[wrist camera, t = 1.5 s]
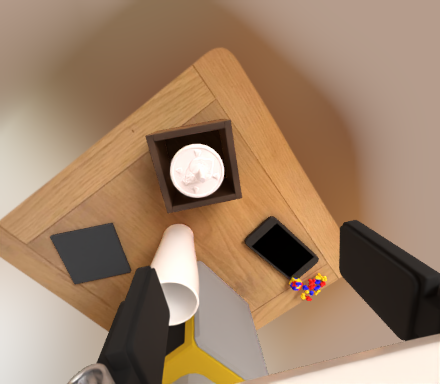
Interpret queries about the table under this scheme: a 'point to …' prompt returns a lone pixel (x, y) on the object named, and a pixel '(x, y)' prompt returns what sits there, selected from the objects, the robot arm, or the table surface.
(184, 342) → the alarm clock
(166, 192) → the holder
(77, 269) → the mat
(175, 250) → the drinking glass
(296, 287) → the building blocks
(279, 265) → the smartphone
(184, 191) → the smoothie
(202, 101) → the table surface
